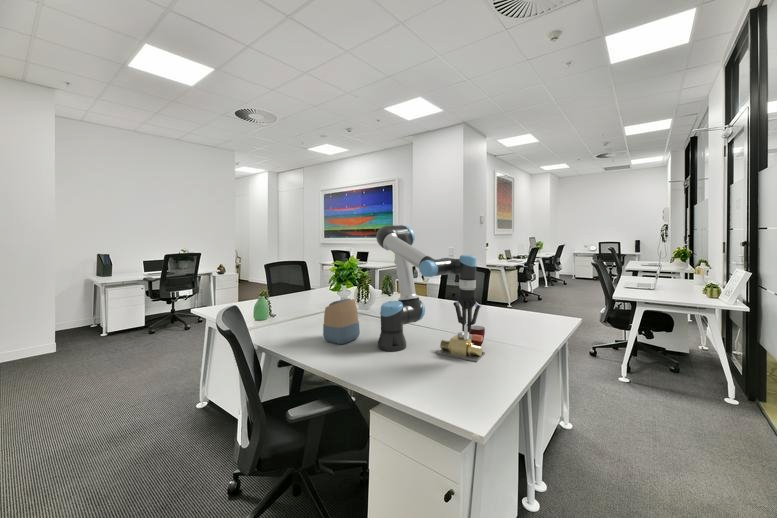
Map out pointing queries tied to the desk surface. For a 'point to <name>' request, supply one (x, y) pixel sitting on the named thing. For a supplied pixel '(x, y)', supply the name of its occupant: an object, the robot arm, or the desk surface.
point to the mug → (478, 331)
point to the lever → (471, 336)
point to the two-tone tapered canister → (341, 322)
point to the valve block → (460, 349)
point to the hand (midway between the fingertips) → (466, 338)
